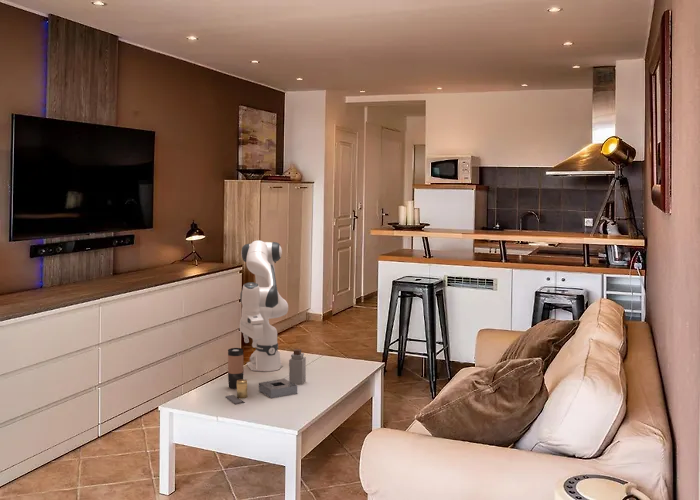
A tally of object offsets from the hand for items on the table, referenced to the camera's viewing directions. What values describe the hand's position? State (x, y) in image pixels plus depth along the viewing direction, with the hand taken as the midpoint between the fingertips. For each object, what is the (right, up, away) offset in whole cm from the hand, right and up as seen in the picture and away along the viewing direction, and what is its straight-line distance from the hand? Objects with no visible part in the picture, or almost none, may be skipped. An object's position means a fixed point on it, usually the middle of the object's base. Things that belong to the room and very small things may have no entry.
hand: (250, 344), depth 323 cm
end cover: (-3, -24, -4) cm, 25 cm away
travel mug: (-9, -24, +12) cm, 28 cm away
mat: (-3, -25, -5) cm, 26 cm away
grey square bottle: (+21, -23, +20) cm, 38 cm away
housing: (+13, -25, +3) cm, 28 cm away
